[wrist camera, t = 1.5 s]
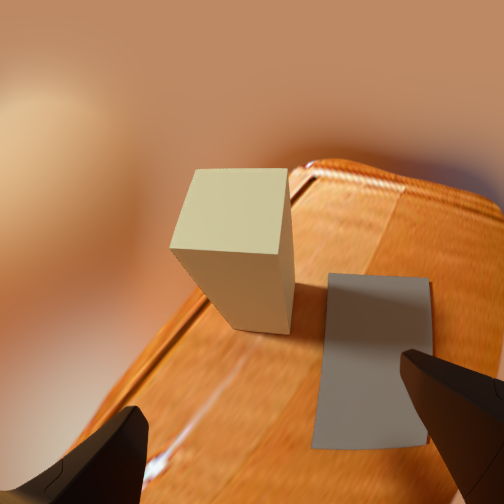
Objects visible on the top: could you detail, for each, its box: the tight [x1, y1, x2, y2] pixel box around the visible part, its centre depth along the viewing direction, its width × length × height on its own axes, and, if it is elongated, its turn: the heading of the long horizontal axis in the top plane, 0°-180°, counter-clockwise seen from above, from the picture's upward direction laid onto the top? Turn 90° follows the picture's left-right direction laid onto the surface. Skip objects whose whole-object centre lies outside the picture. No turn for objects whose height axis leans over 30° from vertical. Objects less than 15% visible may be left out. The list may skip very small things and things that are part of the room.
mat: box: [311, 273, 433, 450], centre depth 20 cm, size 14×9×1 cm, turn 172°
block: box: [169, 168, 295, 335], centre depth 18 cm, size 4×4×13 cm
